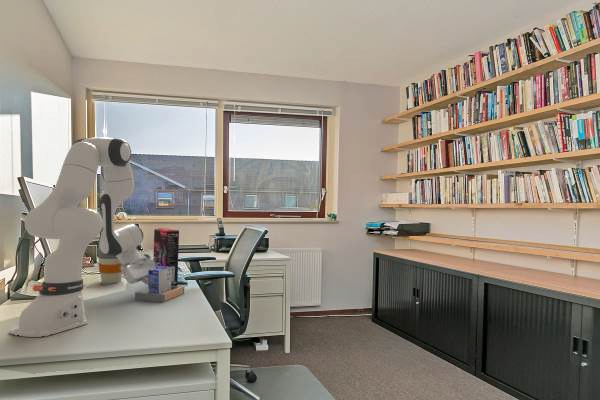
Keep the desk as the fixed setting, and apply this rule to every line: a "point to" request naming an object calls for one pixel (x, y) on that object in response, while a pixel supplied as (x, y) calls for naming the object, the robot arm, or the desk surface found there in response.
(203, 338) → the desk surface
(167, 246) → the graphics card box
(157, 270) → the ink cartridge box
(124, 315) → the desk surface
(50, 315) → the robot arm
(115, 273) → the reusable coffee cup
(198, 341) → the desk surface
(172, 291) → the u-shaped bracket
